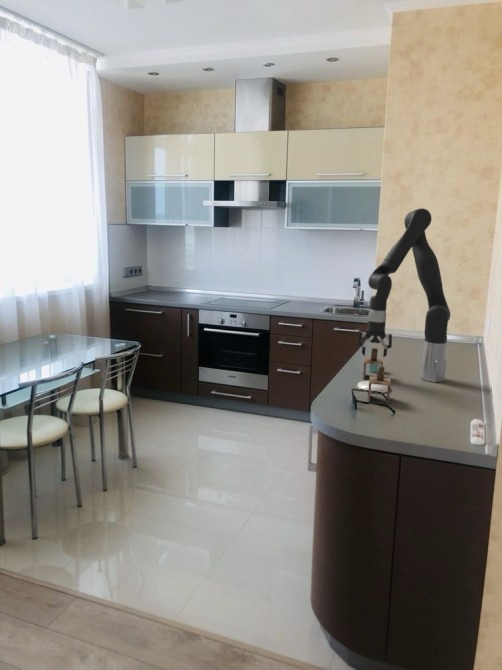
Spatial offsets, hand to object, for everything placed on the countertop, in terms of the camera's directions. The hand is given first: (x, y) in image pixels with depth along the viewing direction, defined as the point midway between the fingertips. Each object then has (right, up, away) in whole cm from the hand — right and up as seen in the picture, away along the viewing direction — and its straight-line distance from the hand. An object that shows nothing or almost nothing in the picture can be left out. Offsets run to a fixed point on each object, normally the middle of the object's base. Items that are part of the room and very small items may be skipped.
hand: (373, 356), depth 243 cm
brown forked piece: (0, -10, +2) cm, 10 cm away
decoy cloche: (-4, -16, -27) cm, 32 cm away
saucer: (-3, -13, -13) cm, 18 cm away
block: (+3, -7, +13) cm, 15 cm away
